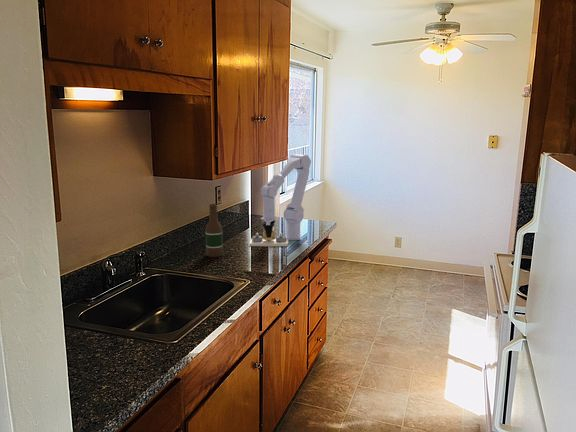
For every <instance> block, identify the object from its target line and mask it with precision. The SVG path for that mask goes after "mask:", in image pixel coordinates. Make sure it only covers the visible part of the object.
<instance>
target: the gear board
mask: <svg viewBox="0 0 576 432" xmlns="http://www.w3.org/2000/svg"><path fill="white" fill-rule="evenodd" d="M288 246H289V240H288V239H286V235H283V233H282V232H279V235H277V236H275V239H274V240H264V239H263V236H262V235H259V233H258V232H256V233H255V235H253V236H252V237H251V238H250V241H249V247H288Z"/></svg>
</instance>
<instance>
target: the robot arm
mask: <svg viewBox="0 0 576 432" xmlns="http://www.w3.org/2000/svg"><path fill="white" fill-rule="evenodd" d="M311 163H312V160H311V158H310V156H309V155H308V154H296V153H293V154H291V155H290V157H289V158H288V160H287V163H286V164H285V165H284V166H283V168H282V169H281V171H279V172H278V173H277V174H274V175H273V176H272V177H271V179H270V180H269V181H268V182H267V183H266V184H265V185H263V186H262V187H261V189H260V195H261V196H262V198H261V199H262V209H263V210H262V211H263V213H262V215H263V216H262V217H261V218H260V220H261V221H263V223H262V226H263V229H264V231H265V232H266V237H267V238H271V235H272V231H274V230H273V228H274V226H275V223H276V215H275V213H276V211H275V210H276V209H275V207H276V205H275V202H276V201H275V200H276V199H275V197H276V196H277V194H278V191H279V189H280V188H281V187H282V186H283V184H284V183H285V179H286V178H287V176H288V175H289V174H290V173H291V172H293V171H294V170H296V172H297V178H296V181H295V186H294V189H293V193H292V197H291V201H290V202H289V203H288V204H287V205H286V208H285V209H284V210H283V218H284V219H285V222H286V235H285V237H286V239H288V241H298V240H299V241H301V240H302V234H301V223H302V221H303V219H304V211H305V209H304V207H303V205H302V203H303V199H304V197H305V192H306V188H307V183H308V180H309V176H310V167H311Z"/></svg>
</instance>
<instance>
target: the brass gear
mask: <svg viewBox="0 0 576 432" xmlns="http://www.w3.org/2000/svg"><path fill="white" fill-rule="evenodd" d="M262 233H263V234H262V235H263V236H262V237H263V239H264V240H274V239H276V236H275V235H276V234H275V230H272V235H271V238H267V237H266V232H265V230H263V232H262Z"/></svg>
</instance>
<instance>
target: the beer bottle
mask: <svg viewBox="0 0 576 432" xmlns="http://www.w3.org/2000/svg"><path fill="white" fill-rule="evenodd" d="M208 207H209V212H208V213H209V219H208V222H207V224H206V225H205V230H204V231H205V233H204V234H205V253H206V256H208V257H209V258H219V257H222V256H223V255H224V243H223V242H224V241H223V240H224V237H223V234H224V233H223V228H222V225H221V223H220V222H219V218H218V209H217V208H218V205H217V204H216V203H210V204H209V206H208Z"/></svg>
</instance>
